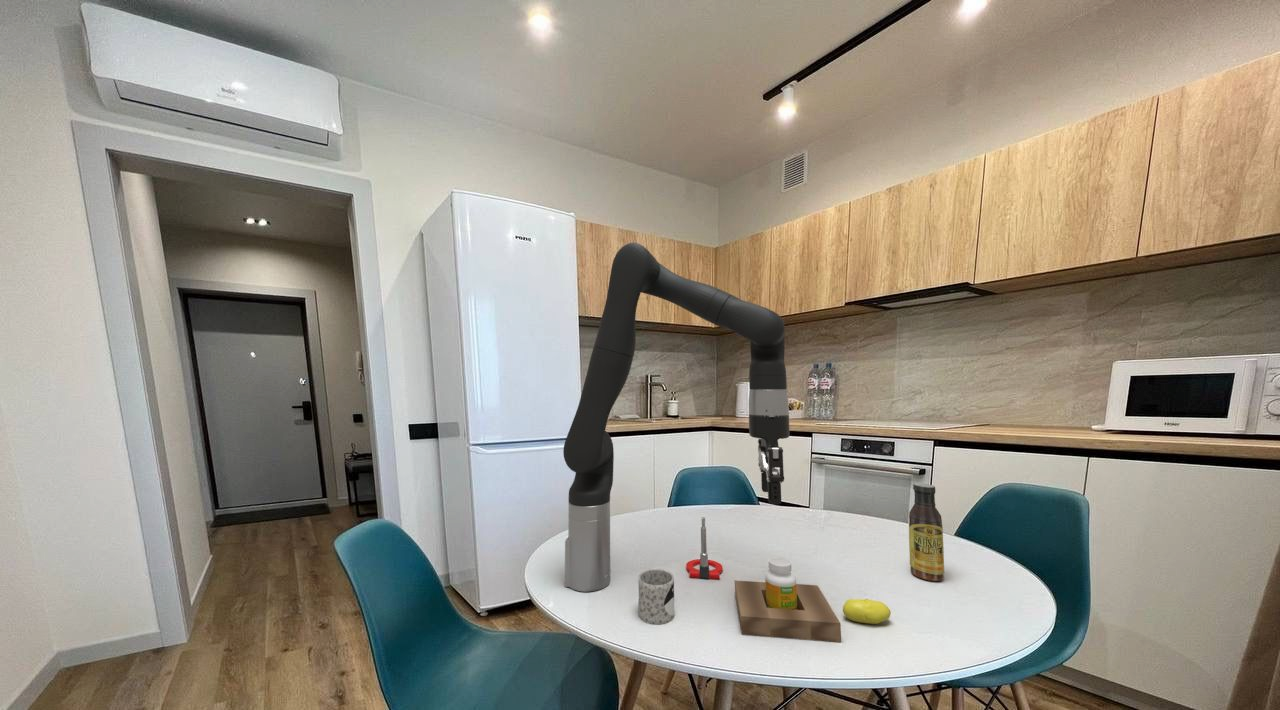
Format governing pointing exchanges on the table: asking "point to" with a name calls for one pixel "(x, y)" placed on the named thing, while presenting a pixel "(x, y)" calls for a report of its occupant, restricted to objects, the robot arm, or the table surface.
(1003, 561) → the table surface
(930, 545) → the sauce bottle
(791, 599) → the supplement bottle
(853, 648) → the table surface
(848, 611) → the yellow potato
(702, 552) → the tow hook
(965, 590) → the table surface
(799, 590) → the socket plate
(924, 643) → the table surface
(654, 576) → the mug
